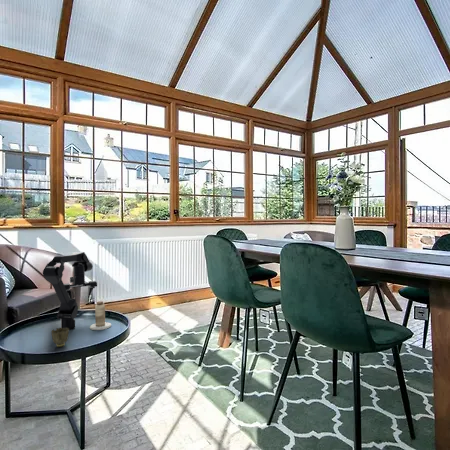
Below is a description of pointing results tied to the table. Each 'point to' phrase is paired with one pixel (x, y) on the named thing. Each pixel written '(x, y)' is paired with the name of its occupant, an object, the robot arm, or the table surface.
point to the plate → (94, 327)
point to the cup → (60, 336)
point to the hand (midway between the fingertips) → (79, 299)
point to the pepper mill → (100, 314)
